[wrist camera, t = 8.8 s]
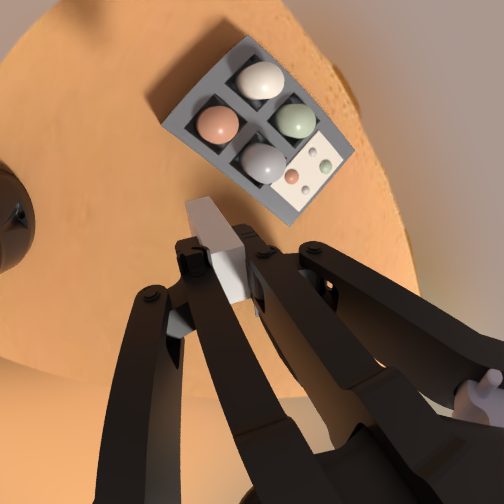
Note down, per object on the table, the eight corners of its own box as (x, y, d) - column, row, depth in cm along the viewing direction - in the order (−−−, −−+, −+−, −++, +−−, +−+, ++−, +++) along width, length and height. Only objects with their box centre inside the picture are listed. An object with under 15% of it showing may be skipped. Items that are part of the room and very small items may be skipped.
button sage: (263, 119, 34) (276, 121, 30) (284, 97, 33) (299, 96, 29) (285, 141, 36) (300, 145, 32) (304, 119, 35) (322, 121, 32)
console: (160, 124, 31) (160, 125, 27) (237, 42, 29) (248, 34, 25) (277, 215, 43) (290, 228, 39) (337, 145, 40) (356, 151, 36)
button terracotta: (187, 126, 31) (191, 128, 28) (210, 100, 30) (217, 98, 27) (213, 146, 34) (221, 151, 30) (236, 121, 33) (246, 122, 29)
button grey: (231, 161, 34) (241, 168, 30) (254, 135, 33) (267, 138, 29) (256, 181, 36) (268, 191, 32) (277, 156, 35) (293, 163, 31)
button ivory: (227, 84, 29) (237, 80, 25) (251, 60, 28) (264, 54, 24) (253, 106, 31) (266, 106, 27) (276, 83, 30) (291, 80, 26)
